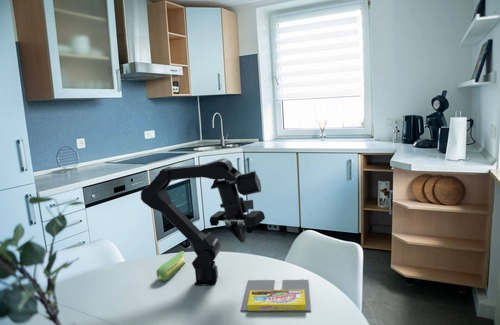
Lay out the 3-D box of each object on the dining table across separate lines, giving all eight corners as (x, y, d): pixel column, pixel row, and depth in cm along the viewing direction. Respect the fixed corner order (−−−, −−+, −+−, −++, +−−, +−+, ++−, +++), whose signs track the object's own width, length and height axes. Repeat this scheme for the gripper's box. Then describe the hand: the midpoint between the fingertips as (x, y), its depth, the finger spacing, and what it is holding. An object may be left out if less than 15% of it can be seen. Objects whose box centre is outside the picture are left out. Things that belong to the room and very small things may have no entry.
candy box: (304, 287, 108) (306, 304, 100) (304, 294, 108) (306, 311, 100) (249, 289, 110) (246, 305, 102) (250, 295, 110) (247, 312, 102)
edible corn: (150, 271, 123) (162, 268, 121) (178, 249, 142) (188, 247, 140) (156, 286, 123) (167, 283, 121) (183, 262, 142) (193, 259, 140)
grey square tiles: (240, 311, 103) (240, 310, 103) (248, 281, 120) (247, 280, 120) (310, 311, 101) (310, 310, 100) (308, 280, 118) (308, 279, 118)
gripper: (267, 187, 117) (279, 231, 120) (223, 189, 128) (235, 229, 131) (248, 201, 108) (261, 248, 112) (202, 202, 119) (216, 245, 123)
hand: (243, 242), depth 120 cm, fingers closed
